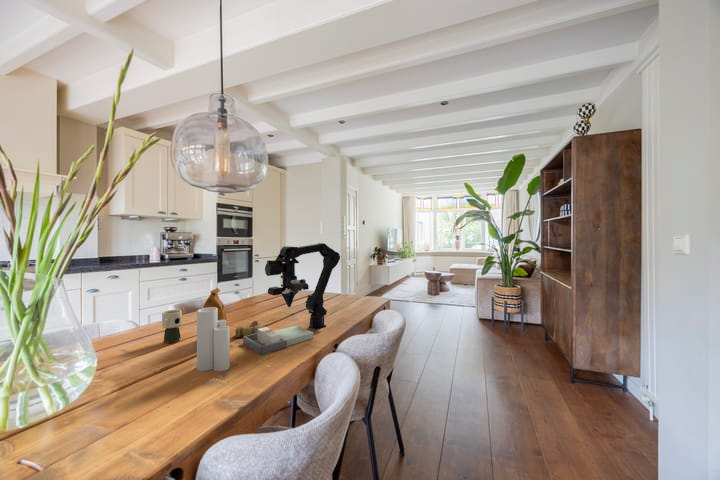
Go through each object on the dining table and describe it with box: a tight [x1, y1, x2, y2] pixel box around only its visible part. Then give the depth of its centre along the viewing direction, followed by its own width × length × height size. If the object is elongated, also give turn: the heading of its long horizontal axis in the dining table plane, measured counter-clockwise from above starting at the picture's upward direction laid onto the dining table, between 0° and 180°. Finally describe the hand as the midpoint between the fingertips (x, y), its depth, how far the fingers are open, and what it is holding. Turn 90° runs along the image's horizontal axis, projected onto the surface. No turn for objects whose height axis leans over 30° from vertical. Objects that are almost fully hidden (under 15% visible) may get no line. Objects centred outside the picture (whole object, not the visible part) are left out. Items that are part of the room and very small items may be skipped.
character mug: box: [161, 309, 183, 344], centre depth 126 cm, size 11×7×13 cm, turn 9°
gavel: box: [235, 320, 261, 338], centre depth 142 cm, size 21×5×10 cm
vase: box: [196, 307, 231, 372], centre depth 102 cm, size 11×7×20 cm, turn 89°
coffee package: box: [202, 287, 227, 324], centre depth 128 cm, size 10×12×22 cm
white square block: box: [258, 326, 272, 343], centre depth 125 cm, size 5×5×4 cm
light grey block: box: [265, 332, 280, 346], centre depth 119 cm, size 5×5×4 cm
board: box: [272, 325, 314, 347], centre depth 130 cm, size 14×14×2 cm
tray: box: [242, 333, 288, 356], centre depth 121 cm, size 11×17×3 cm, turn 44°
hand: (289, 306), depth 136 cm, fingers closed
